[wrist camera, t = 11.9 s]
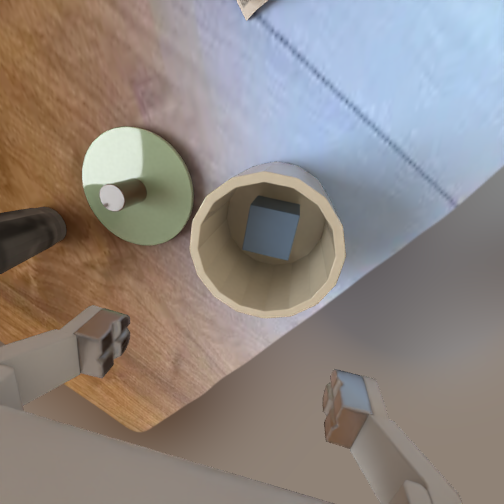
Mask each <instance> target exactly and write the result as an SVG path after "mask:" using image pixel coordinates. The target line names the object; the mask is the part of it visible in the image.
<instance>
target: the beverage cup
mask: <svg viewBox="0 0 504 504" xmlns="http://www.w3.org/2000/svg"><path fill="white" fill-rule="evenodd" d="M65 236H66V225H65V222H64V220H63V219H62V217H61V216H60V215H59V214H58V213H57V212H56V211H55V210H53V209H51V208H48V207H40V208H29V209H23V210H16V211H10V212H4V213H0V274H2V273H4V272H5V271H7V270H9V269H11V268H13V267H15V266H16V265H18V264H20V263H22V262H24V261H26V260H27V259H29V258H31V257H33V256H35V255H37V254H38V253H40V252H42V251H44V250H46V249H48V248H49V247H51V246H53V245H54V244H55V243H57V242H59V241H61V240H63V239H64V237H65Z"/></svg>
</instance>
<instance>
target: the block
mask: <svg viewBox="0 0 504 504" xmlns="http://www.w3.org/2000/svg"><path fill="white" fill-rule="evenodd" d="M299 218H300V204H296V203H291V202H286V201H282V200H277V199H273V198H268V197H264V196H259V195H258V196H257V197H256V198H255V200H254V201H253V202H252V203H251V205H250V209H249V214H248V220H247V225H246V231H245V236H244V242H243V247H242V250H245V251H249V252H253V253H257V254H262V255H266V256H270V257H274V258H279V259H283V260H287V261H288V260H289V256H290V252H291V249H292V245H293V241H294V237H295V233H296V230H297V226H298V222H299Z"/></svg>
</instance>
